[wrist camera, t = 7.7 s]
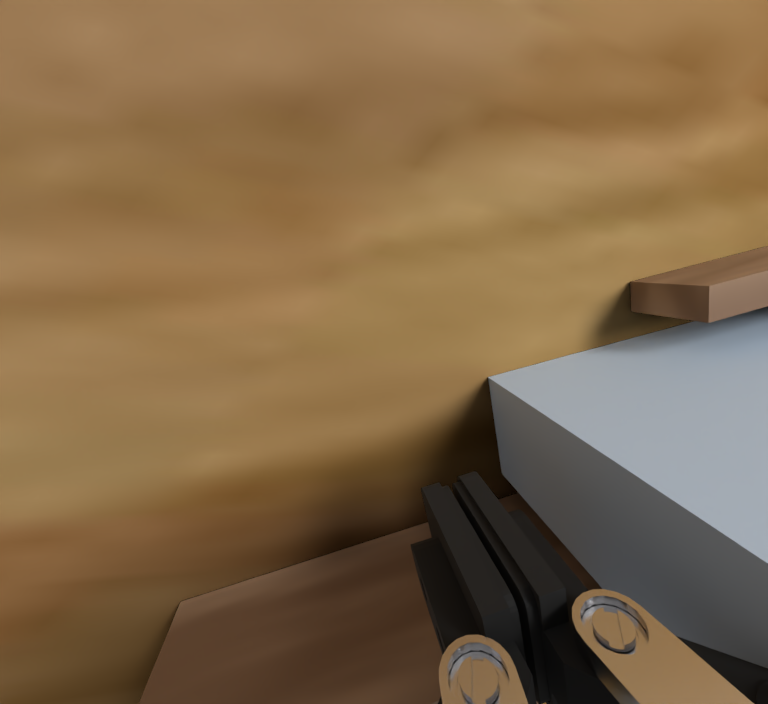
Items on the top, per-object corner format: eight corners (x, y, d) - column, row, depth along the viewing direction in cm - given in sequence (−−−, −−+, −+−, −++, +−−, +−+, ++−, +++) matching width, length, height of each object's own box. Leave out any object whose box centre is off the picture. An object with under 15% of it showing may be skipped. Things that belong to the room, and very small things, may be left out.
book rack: (93, 421, 12) (-821, 1058, 2) (830, 229, 15) (1696, 170, 6) (194, 630, 14) (-53, 1352, 5) (809, 426, 18) (1385, 616, 8)
